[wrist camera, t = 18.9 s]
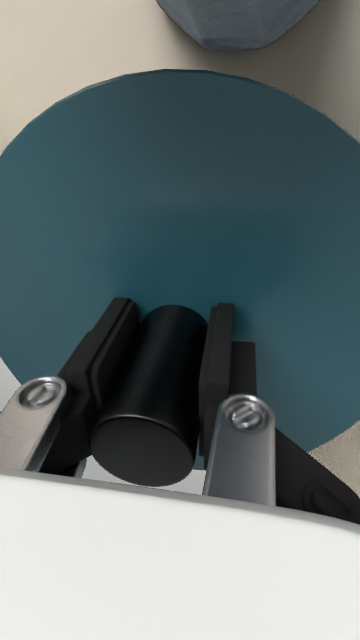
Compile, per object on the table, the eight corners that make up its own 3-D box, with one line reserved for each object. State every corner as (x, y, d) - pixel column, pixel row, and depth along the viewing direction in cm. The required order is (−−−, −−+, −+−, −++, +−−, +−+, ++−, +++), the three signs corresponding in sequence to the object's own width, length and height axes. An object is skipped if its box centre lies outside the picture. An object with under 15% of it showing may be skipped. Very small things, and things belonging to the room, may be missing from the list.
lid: (44, 431, 18) (-35, 559, 13) (-78, 85, 10) (-402, 67, 5) (347, 466, 16) (396, 637, 11) (496, 55, 8) (957, -35, 3)
